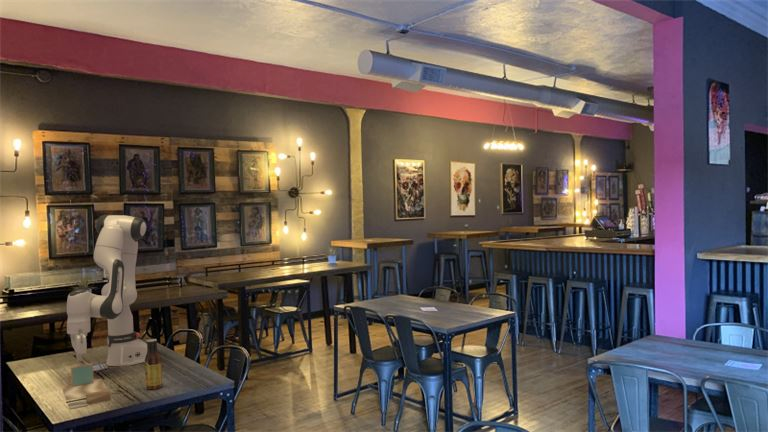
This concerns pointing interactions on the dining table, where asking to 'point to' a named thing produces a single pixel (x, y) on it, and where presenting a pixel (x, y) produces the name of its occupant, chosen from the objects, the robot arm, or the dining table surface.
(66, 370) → the dining table surface
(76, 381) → the tile
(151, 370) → the sauce bottle
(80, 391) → the board
